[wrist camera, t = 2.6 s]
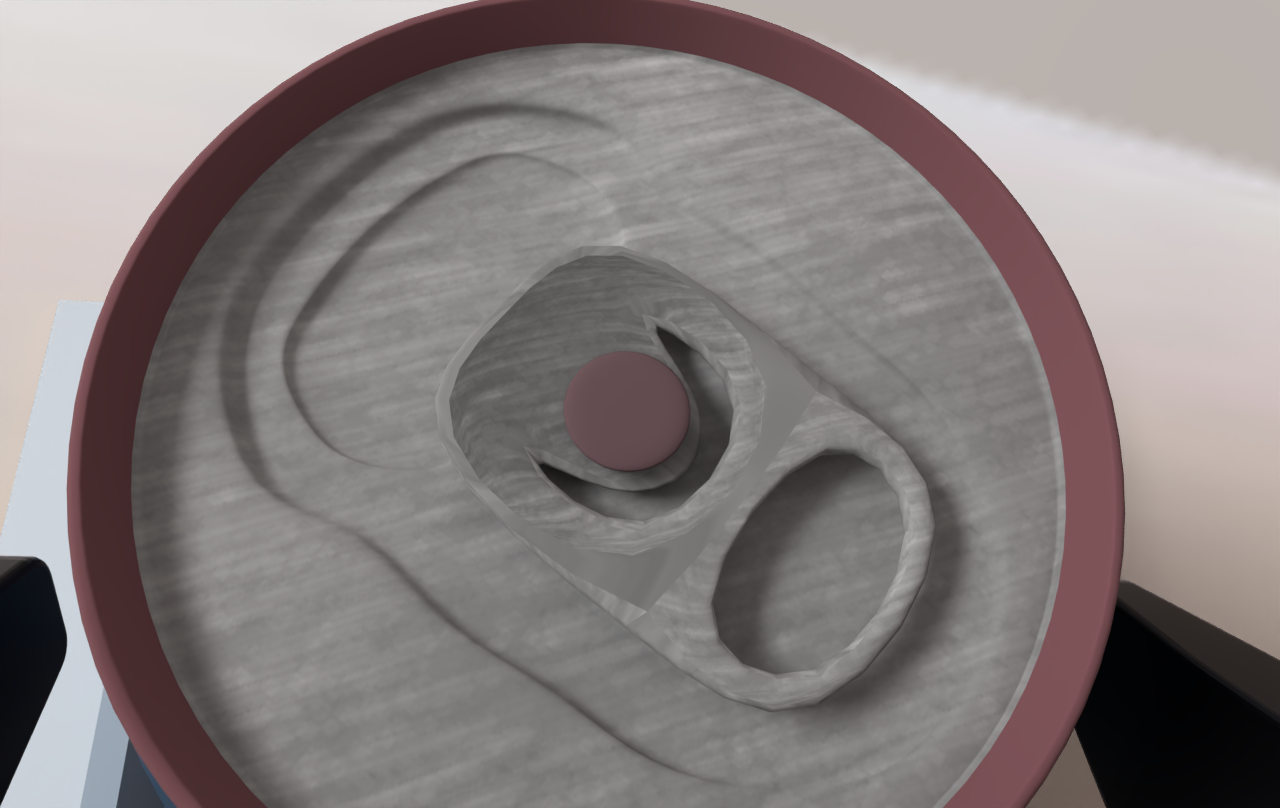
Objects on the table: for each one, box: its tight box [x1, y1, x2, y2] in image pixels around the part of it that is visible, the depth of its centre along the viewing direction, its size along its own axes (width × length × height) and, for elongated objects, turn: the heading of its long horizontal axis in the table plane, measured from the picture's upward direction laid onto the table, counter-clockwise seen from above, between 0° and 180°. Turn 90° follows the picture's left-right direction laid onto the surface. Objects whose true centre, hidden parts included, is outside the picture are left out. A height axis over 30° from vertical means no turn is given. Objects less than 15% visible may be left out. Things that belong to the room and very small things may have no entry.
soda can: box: [66, 0, 1125, 808], centre depth 10 cm, size 7×7×12 cm
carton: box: [0, 300, 165, 808], centre depth 13 cm, size 15×15×4 cm
